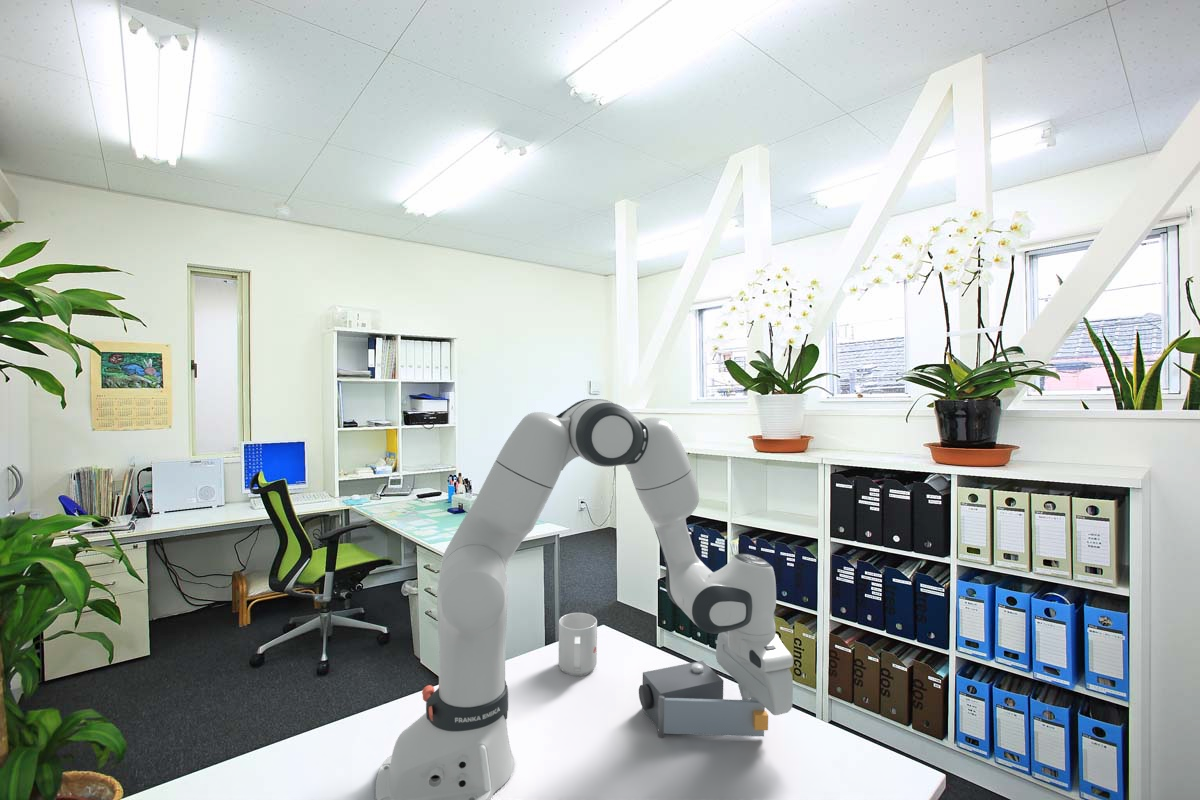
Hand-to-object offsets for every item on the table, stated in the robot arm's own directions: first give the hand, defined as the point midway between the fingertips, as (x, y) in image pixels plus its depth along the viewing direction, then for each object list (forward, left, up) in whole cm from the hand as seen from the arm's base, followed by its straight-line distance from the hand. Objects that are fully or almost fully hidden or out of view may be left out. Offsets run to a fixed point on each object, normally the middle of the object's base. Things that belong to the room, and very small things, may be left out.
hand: (749, 709), depth 106 cm
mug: (-25, +31, -4) cm, 40 cm away
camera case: (-10, +9, -4) cm, 14 cm away
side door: (-9, 0, -4) cm, 10 cm away
